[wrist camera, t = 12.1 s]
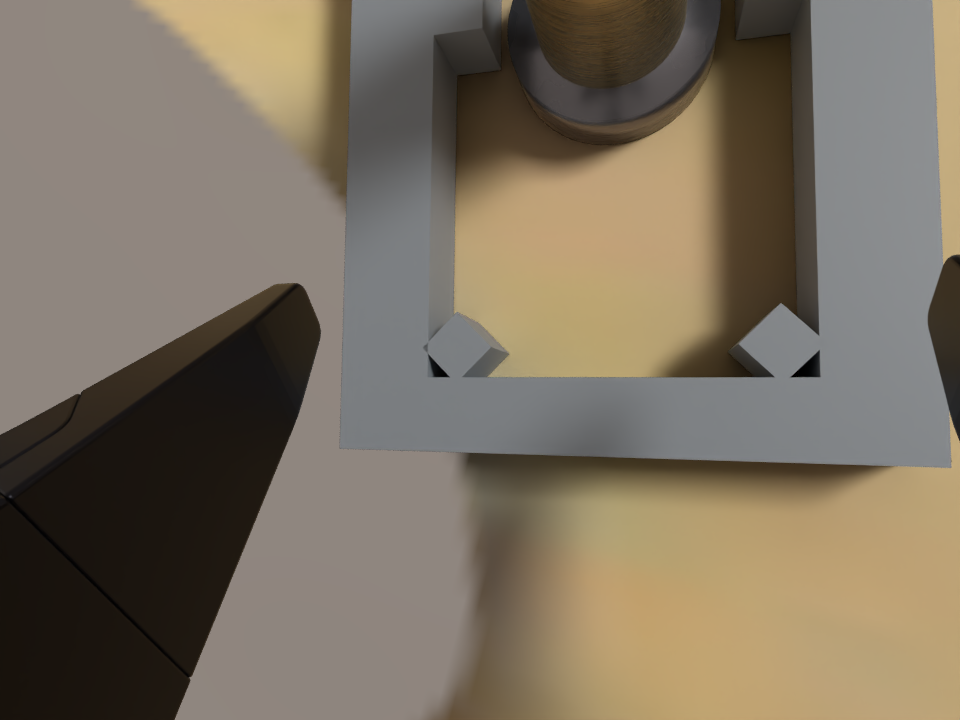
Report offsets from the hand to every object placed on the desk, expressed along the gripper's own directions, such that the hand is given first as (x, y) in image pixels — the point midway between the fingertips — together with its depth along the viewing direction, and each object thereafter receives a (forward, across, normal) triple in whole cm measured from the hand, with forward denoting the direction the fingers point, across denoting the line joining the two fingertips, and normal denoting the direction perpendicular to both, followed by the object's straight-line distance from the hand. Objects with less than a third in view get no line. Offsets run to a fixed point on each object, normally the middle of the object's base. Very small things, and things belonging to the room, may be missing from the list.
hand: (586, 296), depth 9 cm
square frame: (+9, 0, +1) cm, 9 cm away
